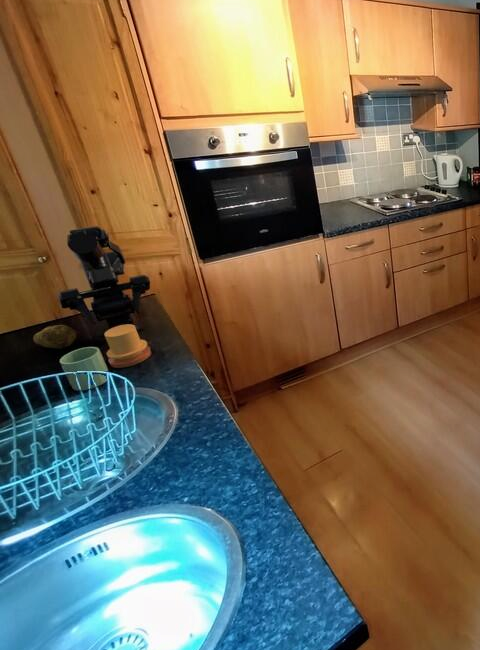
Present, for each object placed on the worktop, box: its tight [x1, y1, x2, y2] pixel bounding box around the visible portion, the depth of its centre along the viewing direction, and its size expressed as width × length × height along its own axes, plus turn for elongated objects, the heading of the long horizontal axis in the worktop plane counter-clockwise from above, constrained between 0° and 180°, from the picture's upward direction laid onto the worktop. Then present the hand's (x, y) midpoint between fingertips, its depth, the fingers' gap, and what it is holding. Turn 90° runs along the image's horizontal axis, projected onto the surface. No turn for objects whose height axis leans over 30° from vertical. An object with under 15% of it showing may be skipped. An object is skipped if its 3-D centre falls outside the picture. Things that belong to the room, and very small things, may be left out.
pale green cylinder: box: [59, 346, 110, 392], centre depth 113 cm, size 7×7×8 cm
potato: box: [32, 324, 77, 350], centre depth 126 cm, size 8×13×8 cm, turn 50°
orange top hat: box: [103, 324, 148, 360], centre depth 122 cm, size 9×9×8 cm
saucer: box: [107, 345, 152, 369], centre depth 123 cm, size 9×9×1 cm
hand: (117, 318), depth 122 cm, fingers open, 9 cm apart
